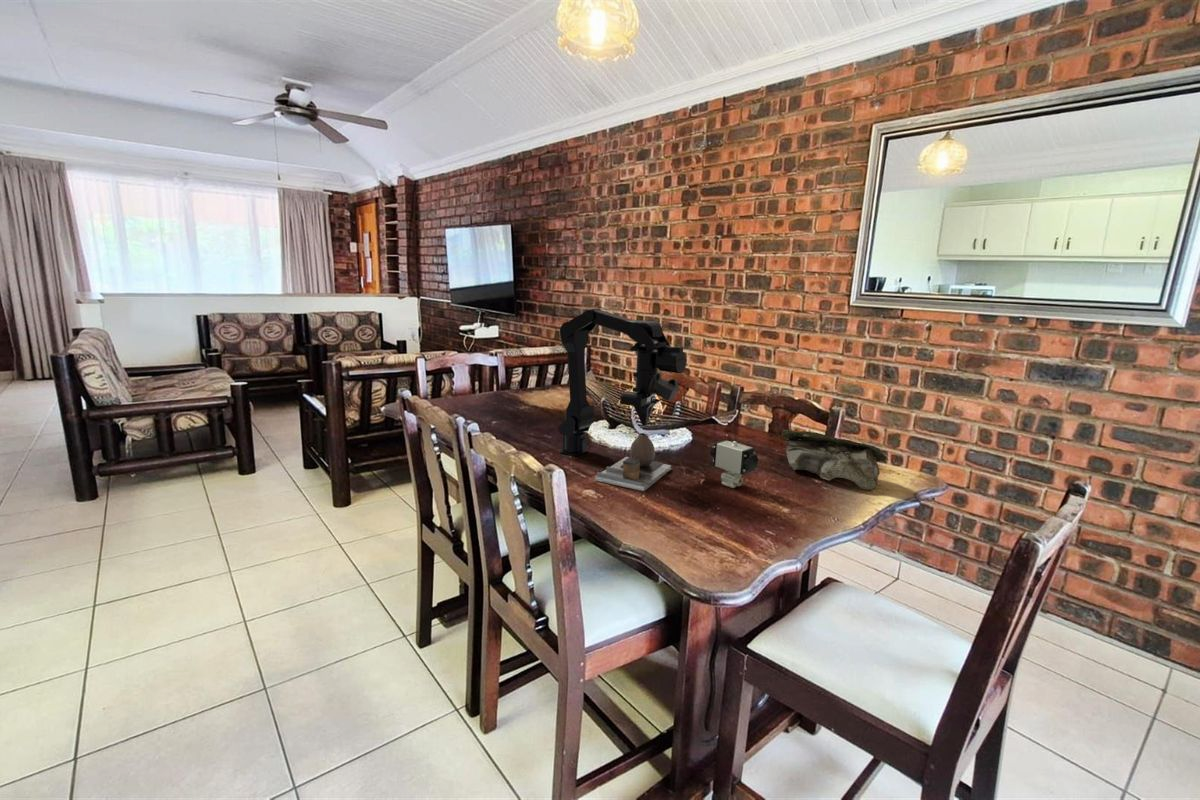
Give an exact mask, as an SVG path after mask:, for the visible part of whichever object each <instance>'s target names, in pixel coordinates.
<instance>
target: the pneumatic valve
mask: <svg viewBox="0 0 1200 800" xmlns="http://www.w3.org/2000/svg"><path fill="white" fill-rule="evenodd" d="M709 456H710V458H711V459H712V462H713V465H712V466H713V467H716V468H720V469H721V470H722V469H723V470H724V472H722V473H721V475H720V480H721V485H723V486H726V487H728V488H731V489H735V488H737V487H741V486H742V485H743V480H744V479H743V477H742V476H744V475H746V474H749V473H751V472H754V471H755V469H756V468H757V467H758V463H759V457H758V455H757V454H756V452H755V448H754V447H752V446H748V445H745V444H741V443H740V442H739V443H738V441H735V440H733V441H729V440H726V439H725V440H722V441H717V442H715V443H714V444H713V445H712V446H711V448H710V451H709Z"/></svg>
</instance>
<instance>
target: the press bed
mask: <svg viewBox="0 0 1200 800" xmlns="http://www.w3.org/2000/svg"><path fill="white" fill-rule="evenodd" d="M627 458H629V456H625V457H624V458H622V459H620V460H619V461H617V462H615V463H614V464H612V465H610V466H606V467H605V470H603V471H601V472H600V471H599V472H596V475H595V476H594V481H595V482H600V483H605V484H610V485H614V486H618V487H622V488H627V489H631V490H636V491H640V492H645V491H646V490H648V489H649V488H650V487H651V486H652V485H654V484H655V483H656V482H657V481H659V480H660V479H661V478H662V477H663V476H665V475H666V474H667V473H668V472H670V471H671V470H672V465H670V464H666V463H664V462H660V461H654V460H653V461H652V463H651V464H650V465H648V466H644V467H641V466H640V469H639V479H637V480H633V479H628V478H624V477H623V465H624V464H623V461H624V460H626V459H627Z"/></svg>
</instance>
